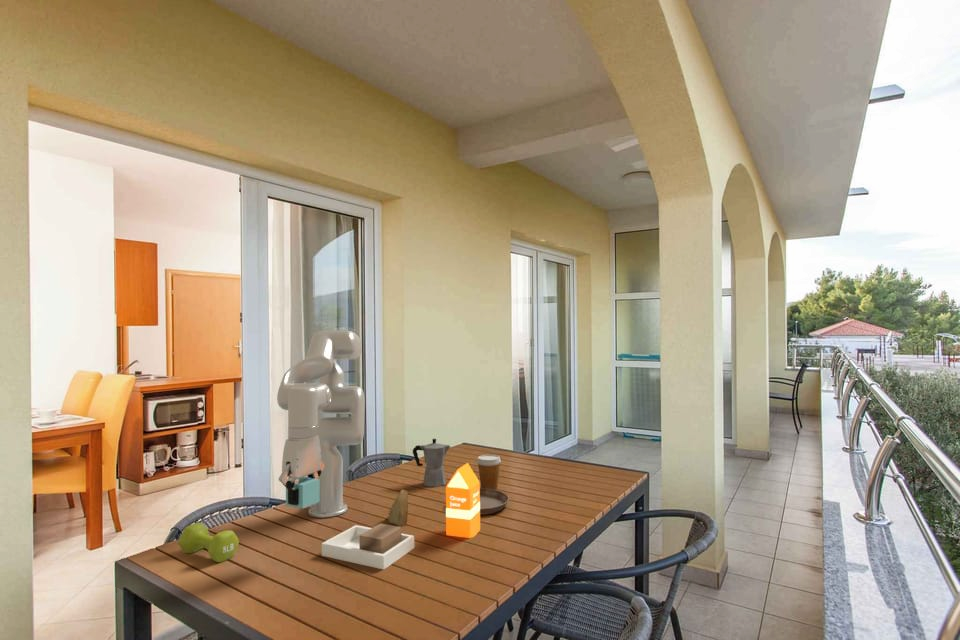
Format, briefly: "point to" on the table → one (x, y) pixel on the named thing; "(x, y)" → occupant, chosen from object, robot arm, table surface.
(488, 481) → the disposable coffee cup
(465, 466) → the orange juice
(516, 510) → the table surface
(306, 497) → the teal box
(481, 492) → the plant saucer
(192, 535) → the dumbbell
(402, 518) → the rock
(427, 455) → the coffeepot
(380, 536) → the walnut block
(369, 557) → the white tray
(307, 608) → the table surface
